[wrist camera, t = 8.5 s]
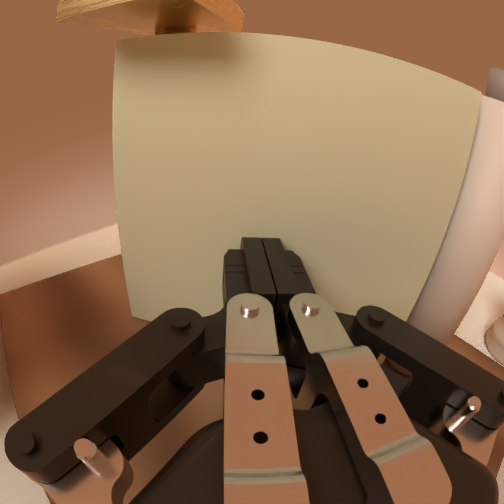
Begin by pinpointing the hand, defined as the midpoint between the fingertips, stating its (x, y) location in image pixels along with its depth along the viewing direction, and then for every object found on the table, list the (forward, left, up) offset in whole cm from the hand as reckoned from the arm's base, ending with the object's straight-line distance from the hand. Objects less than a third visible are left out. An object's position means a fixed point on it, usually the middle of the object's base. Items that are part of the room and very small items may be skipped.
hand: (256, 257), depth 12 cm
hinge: (+2, -1, -5) cm, 6 cm away
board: (0, -2, -7) cm, 7 cm away
